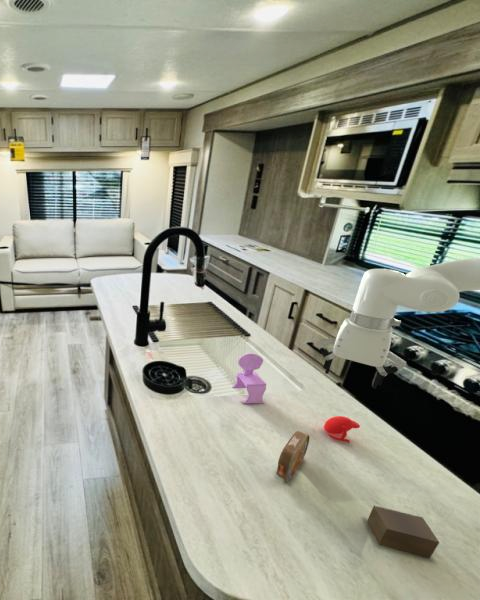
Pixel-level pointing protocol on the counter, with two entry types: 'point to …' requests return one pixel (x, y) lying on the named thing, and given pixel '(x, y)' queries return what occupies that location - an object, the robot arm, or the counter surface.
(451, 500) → the counter surface
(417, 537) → the stop block
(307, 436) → the tin
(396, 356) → the robot arm
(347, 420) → the cap
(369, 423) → the counter surface
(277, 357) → the counter surface
